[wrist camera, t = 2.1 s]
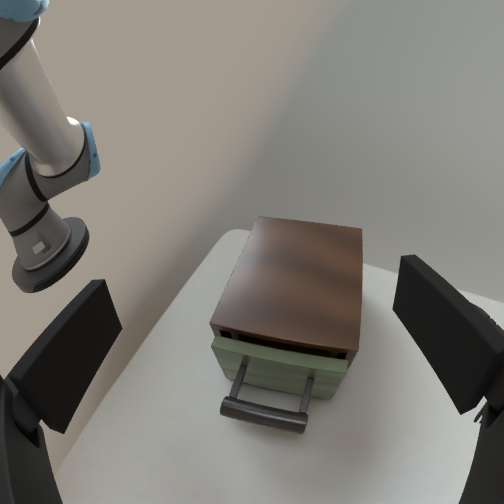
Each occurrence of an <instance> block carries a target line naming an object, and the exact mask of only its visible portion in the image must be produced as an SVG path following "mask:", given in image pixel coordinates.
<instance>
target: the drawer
mask: <svg viewBox="0 0 504 504" xmlns="http://www.w3.org/2000/svg"><path fill="white" fill-rule="evenodd" d="M231 334H232V338H233V339H229V338H225V337H221V336H217V335H216V336H215V338H214V340H213V343H212V345H211V347H212V350H213V352H214V354H215V356H216V358H217V360H218V362H219V364H220V366H221V368H222V370H223V372H224V374H225V376H226V378H228V379H232V380H235V381H234V384H233V386H232V389H231V392H230V395H229V397H228V396H226V397H225V398H224V400H223V402H222V404H221V408H220V414H221V415H223V416H226V417H229V418H233V419H237V420H240V421H244V422H248V423H252V424H256V425H260V426H264V427H269V428H273V429H278V430H283V431H288V432H293V433H299V434H303V433H304V431H305V427H306V424H307V420H308V414H306V412H307V408H308V404H309V400H310V396H312V397H318V398H325V399H331V398H332V396H333V395H334V393H335V391H336V390H337V388H338V386H339V384H340V383H341V381H342V379H343V378H344V376H345V374H346V372H347V365H348V360H343V359H336V358H337V356H338V353H339V352H334V351H327V350H320V349H314V348H308V347H302V346H296V345H290V344H285V343H279V342H274V341H269V340H264V339H259V338H254V337H250V336H245V335H240V334H236V333H231ZM242 382H243V383H247V384H252V385H256V386H260V387H265V388H269V389H274V390H279V391H284V392H289V393H294V394H300V395H303V398H302V402H301V406H300V410H299V413H298V412H293V411H288V410H282V409H278V408H273V407H268V406H264V405H259V404H255V403H251V402H247V401H243V400H239V399H237V396H238V393H239V391H240V388H241V385H242Z"/></svg>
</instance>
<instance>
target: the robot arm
mask: <svg viewBox="0 0 504 504" xmlns="http://www.w3.org/2000/svg"><path fill="white" fill-rule="evenodd" d="M48 4H49V0H0V125H1V126H2V127H3V128H4V129H5V130H6V131H7V132H8V133H9V134H10V135H11V136H12V137H13V138H14V139H15V140H16V141H17V142H18V143H19V144H20V145H21V146H22V147H21V148H20V149H19V150H18V151H16V152H15V153H14V154H13V155H11V156H10V157H9V158H8V159H7V160H6V161H4V162H3V163H2V164H1V165H0V218H1V219H2V221H3V223H4V225H5V227H6V228H7V230H8V232H9V233H10V235H11V237H12V239H13V242H14V245H15V248H16V252H17V254H18V259H19V262H20V264H21V266H22V267H23V268H24V270H25V271H27V272H34V271H37V270H40V269H42V268H44V267H45V266H47V265H48V264H50V263H51V262H52V261H54V260H55V259H56V258H57V257H58V256H59V255H60V254H61V253H62V252H63V250H64V249H65V248H66V246H67V245H68V243H69V241H70V238H71V230H70V228H69V226H68V225H67V223H66V222H65V221H63V220H62V219H61V218H60V217H59V216H58V215H57V214H56V213H55V212H54V211H53V210H52V209H51V207H50V205H49V203H48V200H49V199H51V198H53V197H54V196H56V195H58V194H60V193H62V192H64V191H66V190H68V189H70V188H72V187H74V186H76V185H78V184H80V183H82V182H84V181H88V180H89V179H90V178H92V177H93V176H95V175H97V174H98V173H99V171H100V162H99V158H98V154H97V149H96V144H95V140H94V136H93V132H92V128H91V125H90V123H89V122H81V123H78V121H76V120H75V119H72V118H68V117H67V116H66V114H65V112H64V110H63V109H62V106H61V104H60V102H59V100H58V98H57V96H56V94H55V92H54V90H53V88H52V85H51V83H50V81H49V79H48V77H47V74H46V72H45V70H44V68H43V65H42V63H41V60H40V58H39V56H38V53H37V51H36V48H35V46H34V43H33V40H32V38H33V36H34V35H35V33H36V31H37V29H38V27H39V23H40V14H42V13H43V12H44V11H45V10H46V9H47V7H48ZM393 311H394V312H395V314H396V315H397V316H398V318H399V319H400V321H401V322H402V323H403V325H404V326H405V328H406V329H407V330H408V332H409V333H410V335H411V336H412V338H413V339H414V341H415V342H416V344H417V345H418V347H419V348H420V350H421V351H422V353H423V354H424V356H425V357H426V359H427V360H428V362H429V363H430V365H431V367H432V368H433V370H434V371H435V373H436V374H437V376H438V378H439V379H440V381H441V383H442V384H443V386H444V388H445V389H446V391H447V393H448V394H449V396H450V398H451V399H452V401H453V403H454V405H455V406H456V408H457V410H458V412H459V413H460V415H462V414H464V413H466V412H468V411H470V410H472V409H473V408H475V407H476V406H477V405H478V403H479V402H480V401H481V399H482V398H483V396H485V398H486V399H487V402H486V403H485V405H484V406H483V408H482V409H481V410H480V412H479V413H478V414H477V416H476V417H475V419H474V422H477V420H478V419H479V418H480V416H481V415H482V420H481V421H480V422H479V423H481V426H480V432H479V437H478V441H477V446H476V450H475V454H474V458H473V462H472V465H471V469H470V472H469V476H468V479H467V482H466V485H465V488H464V491H463V493H462V496H461V499H460V501H459V504H504V330H503V329H502V328H501V327H500V326H499V325H496V322H495V321H494V320H493V319H492V318H491V319H490V316H489V315H488V314H487V313H486V312H485V311H484V310H483V309H481V308H479V307H478V306H476V305H474V304H472V303H470V302H469V301H468V300H467V299H466V298H465V297H464V296H463V295H462V294H460V293H459V292H458V291H457V290H456V289H455V288H454V287H453V286H452V285H450V284H449V283H448V282H447V281H446V280H445V279H444V278H443V277H441V276H440V275H439V274H438V273H437V272H436V271H434V270H433V269H432V268H431V267H429V266H428V265H427V264H426V263H425V262H423V261H422V260H421V259H420V258H419V257H417V256H416V255H406V256H401V260H400V268H399V275H398V281H397V287H396V293H395V299H394V304H393ZM121 330H122V326H121V323H120V321H119V318H118V316H117V313H116V310H115V308H114V305H113V302H112V299H111V296H110V293H109V291H108V287H107V285H106V281H105V279H101V280H92V281H91V282H90V283H89V284H88V285H87V286H86V287H85V288H84V289H83V290H82V291H81V292H80V293H79V294H78V295H77V296H76V297H75V298H74V299H73V300H72V301H71V302H70V303H69V304H68V305H67V306H66V307H65V308H64V309H63V310H62V311H61V313H60V314H59V315H58V316H57V317H56V318H55V319H54V320H53V321H52V323H51V324H50V325H49V326H48V327H47V328H46V329H45V330H44V331H43V333H42V334H41V335H40V336H39V337H38V338H37V339H36V340H35V342H34V343H33V344H32V345H31V346H30V348H29V349H28V350H27V351H26V352H25V354H24V355H23V356H22V357H21V359H20V360H19V361H18V362H17V364H16V365H15V366H14V367H13V369H12V370H11V371H10V373H9V374H8V375H7V376H6V378H5V379H4V380H3V378H2V377H1V375H0V504H63V503H62V500H61V497H60V494H59V491H58V488H57V485H56V482H55V479H54V475H53V472H52V468H51V464H50V460H49V456H48V452H47V448H46V443H45V438H44V433H43V429H42V427H41V426H40V425H39V422H40V420H41V419H42V420H43V422H44V423H45V424H46V425H47V426H48V427H49V428H50V429H52V430H54V431H57V432H60V433H62V434H64V433H65V431H66V429H67V427H68V425H69V423H70V421H71V419H72V417H73V415H74V413H75V411H76V409H77V407H78V405H79V403H80V402H81V399H82V398H83V396H84V394H85V392H86V390H87V388H88V387H89V385H90V383H91V381H92V379H93V378H94V376H95V374H96V372H97V371H98V369H99V367H100V365H101V364H102V362H103V360H104V358H105V357H106V355H107V353H108V352H109V350H110V348H111V346H112V345H113V343H114V342H115V340H116V338H117V337H118V335H119V333H120V332H121Z"/></svg>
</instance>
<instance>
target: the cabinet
mask: <svg viewBox="0 0 504 504" xmlns="http://www.w3.org/2000/svg"><path fill="white" fill-rule="evenodd" d="M362 257H363V254H362V229H360V228H353V227H346V226H338V225H331V224H322V223H315V222H306V221H298V220H289V219H280V218H271V217H262V216H259V217H258V218H257V221H256V223H255V225H254V227H253V229H252V231H251V234H250V236H249V238H248V240H247V242H246V244H245V246H244V249H243V251H242V253H241V255H240V257H239V260H238V262H237V264H236V266H235V268H234V270H233V273H232V275H231V277H230V279H229V281H228V284H227V286H226V288H225V290H224V292H223V294H222V297H221V299H220V301H219V303H218V305H217V308H216V310H215V312H214V314H213V317H212V319H211V321H210V326H211V328H212V330H213V333H214V335H215V336H216V335H217V336H221V337H225V338H229V339H233V338H232V334H231V333H236V334H240V335H245V336H250V337H254V338H259V339H264V340H269V341H274V342H279V343H285V344H290V345H296V346H302V347H308V348H314V349H320V350H327V351H334V352H339V353H338V356H337V358H336V359H343V360H348V365H347V370H348V368H349V367H350V365H351V363H352V361H353V359H354V357H355V356H356V353H357V352H358V348H359V336H360V323H361V305H362V270H363V261H362V259H363V258H362Z"/></svg>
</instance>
